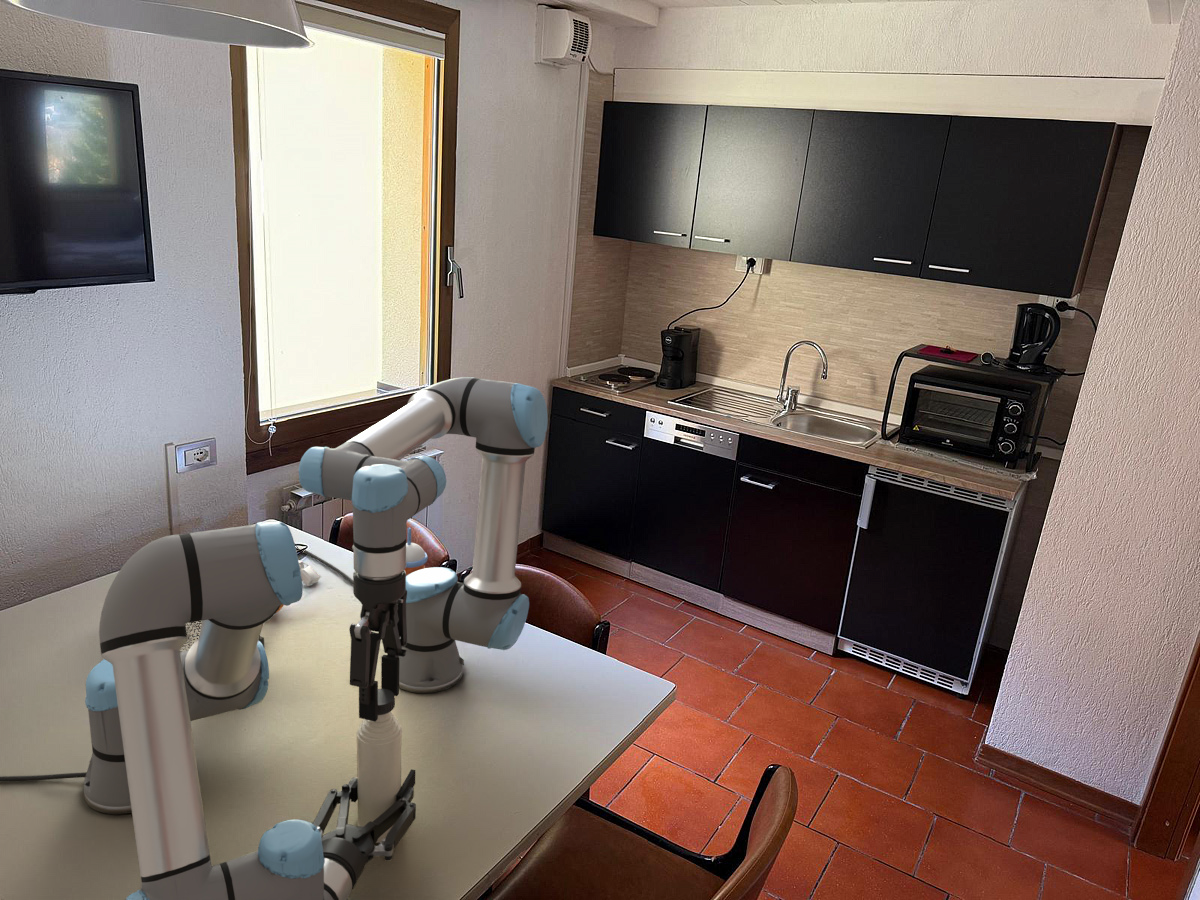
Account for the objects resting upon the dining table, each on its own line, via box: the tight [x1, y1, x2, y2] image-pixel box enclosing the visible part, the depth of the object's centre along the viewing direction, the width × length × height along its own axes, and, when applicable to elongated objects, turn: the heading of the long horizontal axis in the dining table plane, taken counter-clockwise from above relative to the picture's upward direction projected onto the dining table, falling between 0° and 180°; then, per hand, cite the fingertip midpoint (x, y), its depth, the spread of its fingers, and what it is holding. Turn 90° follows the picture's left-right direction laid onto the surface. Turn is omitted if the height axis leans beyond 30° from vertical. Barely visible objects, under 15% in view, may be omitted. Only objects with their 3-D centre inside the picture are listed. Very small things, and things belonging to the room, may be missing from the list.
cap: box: [378, 688, 396, 715], centre depth 132 cm, size 5×5×2 cm
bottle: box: [356, 711, 403, 844], centre depth 135 cm, size 7×7×24 cm
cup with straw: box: [405, 527, 429, 576], centre depth 213 cm, size 9×9×18 cm
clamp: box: [298, 559, 322, 587], centre depth 219 cm, size 20×4×7 cm, turn 62°
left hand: (391, 772), depth 142 cm, fingers closed on bottle, 7 cm apart
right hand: (379, 705), depth 132 cm, fingers open, 6 cm apart
